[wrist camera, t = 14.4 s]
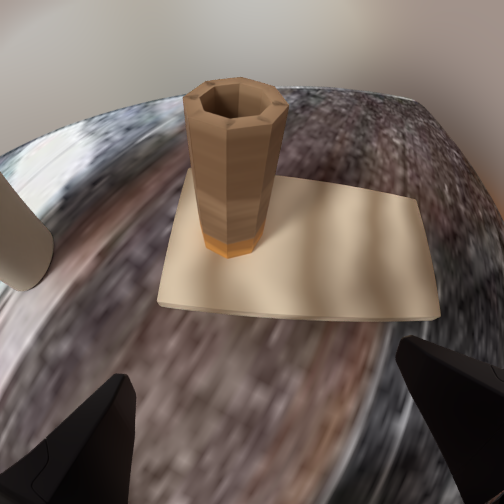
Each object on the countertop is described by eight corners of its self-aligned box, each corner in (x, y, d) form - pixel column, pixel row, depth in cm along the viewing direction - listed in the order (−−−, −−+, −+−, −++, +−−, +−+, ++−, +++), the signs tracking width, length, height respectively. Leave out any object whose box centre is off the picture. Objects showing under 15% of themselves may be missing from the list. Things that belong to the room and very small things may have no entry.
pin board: (409, 206, 29) (430, 182, 24) (431, 320, 23) (462, 305, 18) (189, 177, 28) (184, 143, 24) (161, 306, 22) (144, 287, 17)
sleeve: (270, 222, 24) (299, 94, 13) (243, 267, 22) (257, 141, 11) (221, 199, 25) (219, 71, 13) (191, 240, 23) (164, 111, 11)
